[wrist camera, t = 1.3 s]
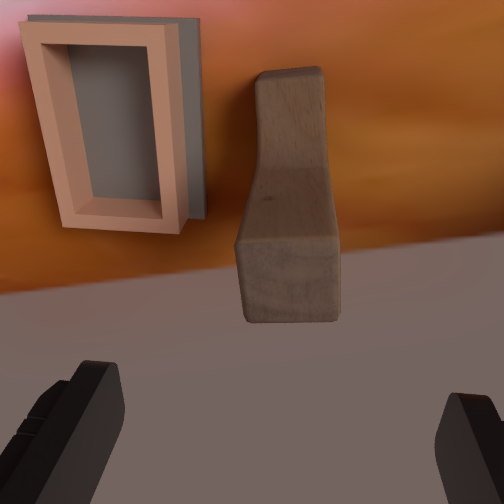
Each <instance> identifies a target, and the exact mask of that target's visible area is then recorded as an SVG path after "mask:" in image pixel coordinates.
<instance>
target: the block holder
mask: <svg viewBox="0 0 504 504" xmlns="http://www.w3.org/2000/svg"><path fill="white" fill-rule="evenodd" d="M28 20H29V21H23V22H18V25H19V29H20V34H21V38H22V43H23V47H24V52H25V57H26V61H27V66H28V70H29V75H30V79H31V84H32V89H33V93H34V98H35V102H36V107H37V111H38V116H39V121H40V125H41V130H42V134H43V139H44V143H45V148H46V152H47V157H48V162H49V166H50V171H51V175H52V180H53V184H54V189H55V194H56V198H57V203H58V207H59V212H60V216H61V221H62V225H63V227H70V228H86V229H102V230H118V231H134V232H150V233H166V234H180V232H181V230H182V228H183V227H184V225H185V223H186V221H187V219H203V220H205V218H206V216H207V201H206V174H205V147H204V120H203V94H202V67H201V40H200V18H167V17H122V16H77V15H28Z"/></svg>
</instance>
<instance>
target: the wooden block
mask: <svg viewBox="0 0 504 504" xmlns="http://www.w3.org/2000/svg"><path fill="white" fill-rule="evenodd" d="M254 90H255V104H256V117H257V161H256V170H255V175H254V178H253V182H252V185H251V189H250V193H249V196H248V200H247V203H246V207H245V210H244V214H243V217H242V221H241V224H240V228H239V231H238V235H237V238H236V242H235V245H234V248H235V256H236V263H237V270H238V278H239V285H240V292H241V300H242V307H243V314H244V317H245V319H246V321H247V322H250V323H294V322H295V323H296V322H298V323H299V322H333V321H336V320H337V319H338V317H339V315H340V313H341V309H340V307H341V305H340V304H341V301H340V297H341V296H340V236H339V230H338V224H337V217H336V211H335V205H334V198H333V192H332V186H331V179H330V173H329V165H328V155H327V139H326V118H325V80H324V76H323V73H322V70H321V68H320V67H317V66H313V67H303V68H292V69H282V70H271V71H264V72H262V73H260V75H259V76H258V78H257V80H256V81H255V85H254Z"/></svg>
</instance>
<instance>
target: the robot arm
mask: <svg viewBox="0 0 504 504" xmlns="http://www.w3.org/2000/svg"><path fill="white" fill-rule="evenodd" d="M124 413H125V404H124V398H123V393H122V387H121V383H120V376H119V371H118V367H117V364H116V363H112V362H101V361H90V360H85V361H83V362H82V363H81V364H80V365H79V367H78V368H77V370H76V372H75V373H74V375H73V376H72V378H71V380H70V381H64V380H59V381H58V382H56V383H55V384H54V385H53V386H52V387H50V388H49V389H48V390H47V391H45V392H44V393H43V394H42V395H41V396H40V397H39V398H38V400H37V401H36V403H35V404H34V406H33V407H32V409H31V410H30V412H29V413H28V415H27V419H24V421H23V422H22V424H21V425H20V427H19V428H18V430H17V434H16V435H14V436H13V437H12V439H11V440H10V442H9V443H8V445H7V446H6V448H5V449H4V451H3V452H2V454H1V455H0V504H90V502H91V499H92V497H93V495H94V492H95V490H96V488H97V485H98V483H99V481H100V478H101V476H102V474H103V471H104V469H105V466H106V464H107V462H108V459H109V457H110V455H111V452H112V450H113V447H114V445H115V443H116V441H117V438H118V436H119V433H120V431H121V428H122V425H123V421H124ZM435 457H436V462H437V466H438V469H439V472H440V476H441V479H442V482H443V486H444V489H445V493H446V496H447V500H448V503H449V504H504V421H501V419H500V417H499V415H498V413H497V410H496V408H495V406H494V404H493V402H492V401H491V399H490V398H489V397H488V396H486V395H476V394H464V393H451V394H450V395H449V398H448V400H447V403H446V406H445V409H444V412H443V415H442V418H441V421H440V424H439V427H438V430H437V433H436V437H435Z"/></svg>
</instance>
